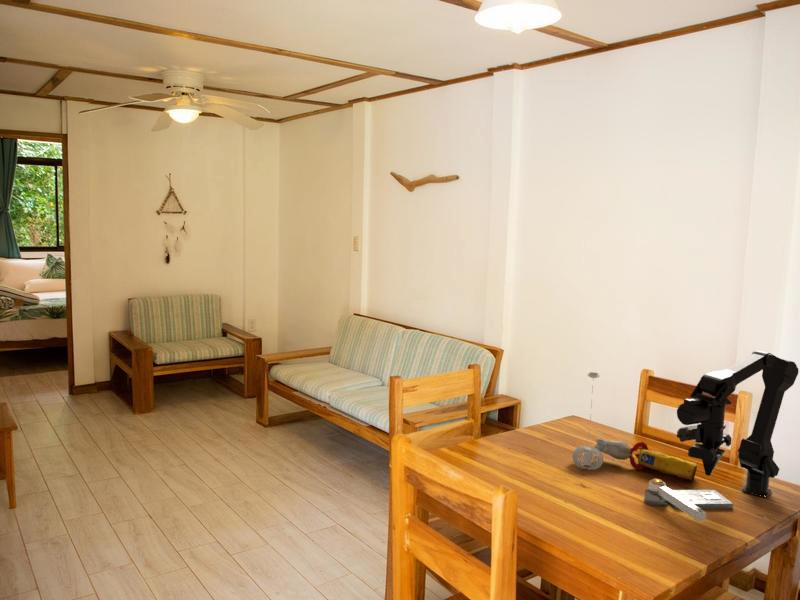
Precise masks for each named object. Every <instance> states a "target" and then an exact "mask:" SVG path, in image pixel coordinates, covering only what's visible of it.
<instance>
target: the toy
mask: <svg viewBox="0 0 800 600" xmlns="http://www.w3.org/2000/svg"><path fill="white" fill-rule="evenodd" d="M595 442H596V444H595V446H594V448H596V449H598V450H599V451H600V452H601V453H602V454H605V455H609V456H610V457H611V458H614V459H615V460H621V461H623V460H627V459H629V463H630V465H631V466H632V467H633V469H635V470H636V471H640V470H642V469H643V468H644V467H645V468H650V469H651V470H656V471H659V472H662V473H665V474H667V475H673V476H676V477H678V478H681V479H688V480H689V481H693V480H694V479H695V476H696V472H697V467H698V464H697V463H696V462H694V461H693V462H692V461H689V460H685V459H682V458H680V457H676V456H672V455H667V454H665V453H662V452H660V451H656V450H654V449H649V448H648V445H647V443H646V442H645V441H638V442H637V443H634V445H633V446H632V447H630V445H629V444H628V443H626V442H625V441H623V440H619V441H616V440H606V439H602V438H599V437H597V438H596V439H595ZM638 450H640V451H639V453H635V455H634V456H635V457H636V458H637V463H636V459H635V457H634V456H633V454H634V453H633V452H637V451H638ZM692 479H693V480H692Z"/></svg>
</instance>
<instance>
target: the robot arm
mask: <svg viewBox="0 0 800 600" xmlns="http://www.w3.org/2000/svg"><path fill="white" fill-rule="evenodd" d="M761 371H762V373H761V377H762V381H763V384H764V390H763V393H762V397H761V400H760V402H759V403H760V404H759V406H758V407H759V408H758V411H757V412H756V413H757V414H756V418H755V421H754V424H753V428H752V432H751V434H750V435H749V436H748V437H747V438H746V439H745V438H741V440H740V444H739V448H738V449H737V452H738V454H737V458H738V461H739V466H740V467H741V468H743V469H746V470H747V471H746V479H745V480H746V481H745V485H744V486H743V487H742V489H741V492H742V491H744V492H743V493H746V492H748V493H747V494H749V493H753V494H757V495H761V496H764V495H765V496H766V497H767V496H769V495H770V494H771V493H772V489H770V488H769V485H770V479H771V478H773V479H774V478H775V477H777V476H778V474H779V472H780V467H779V466H778V465H777V463H776V462H775V461H774V454H775V450H774V447H773V444H772V438H773V433H774V430H775V426H776V424H777V419H778V416H779V413H780V410H781V406H782V401H783V398H784V395H785V393H786V391H788V390H789V389H790V388H791V387H793V385H794V384H795V382H796V380H797V377H798V375H799V373H800V372H799V368H798V365H797V364H796V362H795V361H792V360H787V359H782V358H780V357H778V356H776V355H774V354H772V353H770V352H768V351H763V350H754V351H752V353H751V354H750V355H748V356H747V357H745V358H743V359H741V360H740V361H739V360H738V361H737V362H736V363H734V364H732V365H731V366H729V367H727V368H725V369H722V370H714V371H710V372H707V373H704V374H703V375H701V376H700V379H699V381H698V382H697V384H696V386H695V388H694V389H693V391H692V393H691V394H690V395H689V396H690V397H689V398H684V399H683V403H681V404H680V405H679V406H678V407H677V409H676V415H677V419H678V421H679V422H680V423H681V424H682V425H685V426H683V427H680V428H678V429H677V431H676V437H677V438H678V439H679V442H681V443H683V442H687V441H694V442H695V443H694V444H693V445H692V446H690V447H689V448H688V450H687V456H688V457H690V458H695V459H698V460H701V462H702V465H703V466H702V467H703V469H704V473H705V475H706V476H708V477H710V476H711V475H712V473H713V471H714V470H715V468H716V467H717V465H718V463H719V461H720V460H721V458H722V457H723V455H724V453H725V452H726V450H725V449H723V448H720V447H721V446H722V445H723V444H724V443H725V446H726V447H730V446H731V445H732V437H731V435H730V434H729V433H726V432H724V430H725V429H726V427H727V424H725V416H726V415H725V414H726V413H725V412H726V406H728V405H729V406H730V405H731V404H732V401H731V400H730V399H728V397H729V396H731V395H732V394H733V393H735V391H736V387H737V385H739V384H741V383H742V382H743V381H745V380H748V379H749V378H751V377H753V376H754V375H756V374H758V373H759V372H761ZM695 424H696V425H695ZM770 492H771V493H770ZM769 493H770V494H769ZM753 494H752V495H753ZM768 494H769V495H768ZM757 495H756V496H757ZM761 496H760V497H761ZM767 498H768V497H767Z"/></svg>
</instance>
